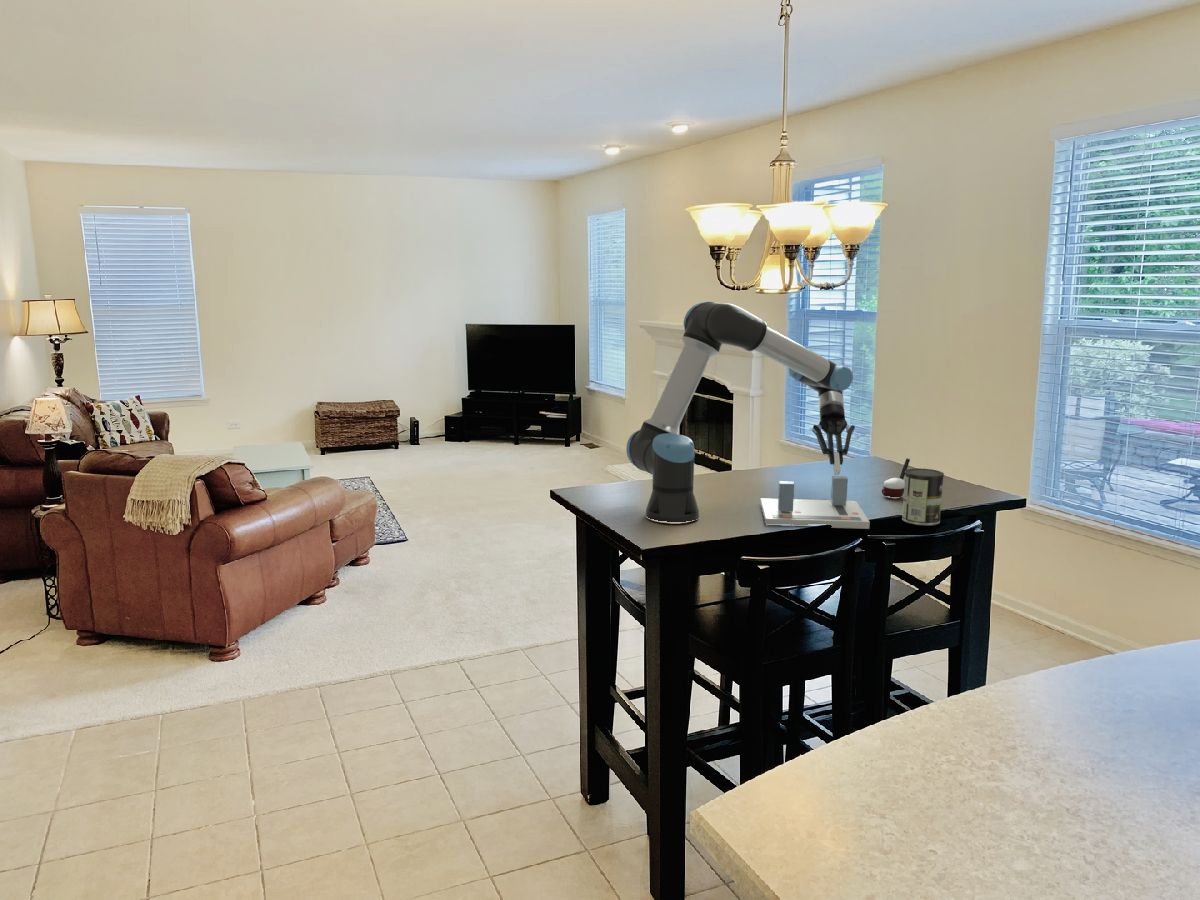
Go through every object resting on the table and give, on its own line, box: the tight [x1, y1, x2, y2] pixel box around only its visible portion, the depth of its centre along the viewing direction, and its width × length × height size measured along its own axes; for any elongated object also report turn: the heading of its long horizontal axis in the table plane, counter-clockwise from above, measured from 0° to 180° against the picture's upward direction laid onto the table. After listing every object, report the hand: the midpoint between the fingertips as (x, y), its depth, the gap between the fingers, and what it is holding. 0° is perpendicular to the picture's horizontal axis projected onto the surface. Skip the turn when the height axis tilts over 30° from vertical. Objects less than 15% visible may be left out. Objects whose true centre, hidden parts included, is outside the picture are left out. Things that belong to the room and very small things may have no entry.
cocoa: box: [881, 457, 911, 498], centre depth 269 cm, size 10×6×12 cm, turn 90°
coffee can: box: [901, 467, 945, 526], centre depth 245 cm, size 10×10×14 cm
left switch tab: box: [777, 480, 795, 511], centre depth 247 cm, size 4×3×8 cm
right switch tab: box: [830, 475, 849, 506], centre depth 253 cm, size 4×3×8 cm
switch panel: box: [759, 497, 871, 530], centre depth 250 cm, size 28×22×2 cm
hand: (837, 472), depth 261 cm, fingers closed
